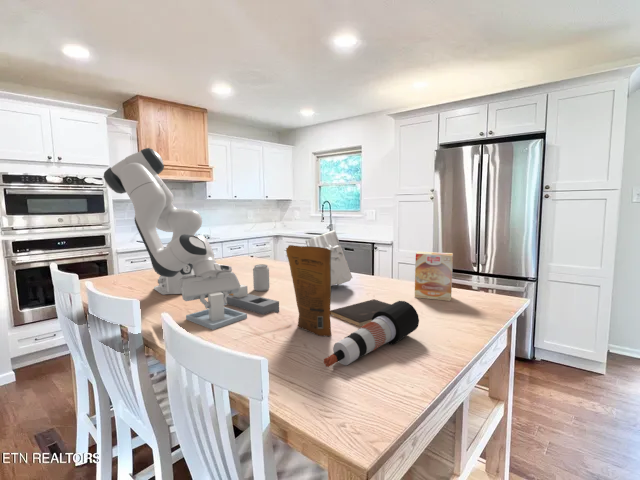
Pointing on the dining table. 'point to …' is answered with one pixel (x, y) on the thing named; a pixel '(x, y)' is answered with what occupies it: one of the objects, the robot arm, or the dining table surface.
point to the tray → (204, 320)
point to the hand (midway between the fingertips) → (216, 305)
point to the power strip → (252, 302)
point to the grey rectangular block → (216, 306)
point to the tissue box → (333, 256)
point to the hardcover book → (359, 312)
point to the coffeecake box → (433, 275)
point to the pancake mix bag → (312, 287)
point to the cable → (376, 333)
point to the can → (261, 277)
